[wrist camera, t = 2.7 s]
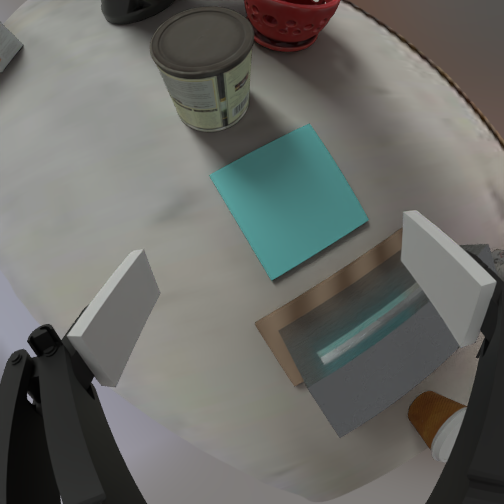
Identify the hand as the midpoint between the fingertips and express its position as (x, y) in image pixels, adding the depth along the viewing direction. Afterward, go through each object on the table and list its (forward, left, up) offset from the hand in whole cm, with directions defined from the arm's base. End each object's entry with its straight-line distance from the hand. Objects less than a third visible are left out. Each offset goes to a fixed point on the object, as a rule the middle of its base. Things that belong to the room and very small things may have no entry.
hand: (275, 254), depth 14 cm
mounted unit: (0, +15, -22) cm, 27 cm away
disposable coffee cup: (+9, +38, -22) cm, 45 cm away
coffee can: (-15, -15, -22) cm, 31 cm away
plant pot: (-33, -13, -22) cm, 42 cm away
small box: (-11, -70, -22) cm, 75 cm away
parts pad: (-8, +1, -22) cm, 24 cm away
